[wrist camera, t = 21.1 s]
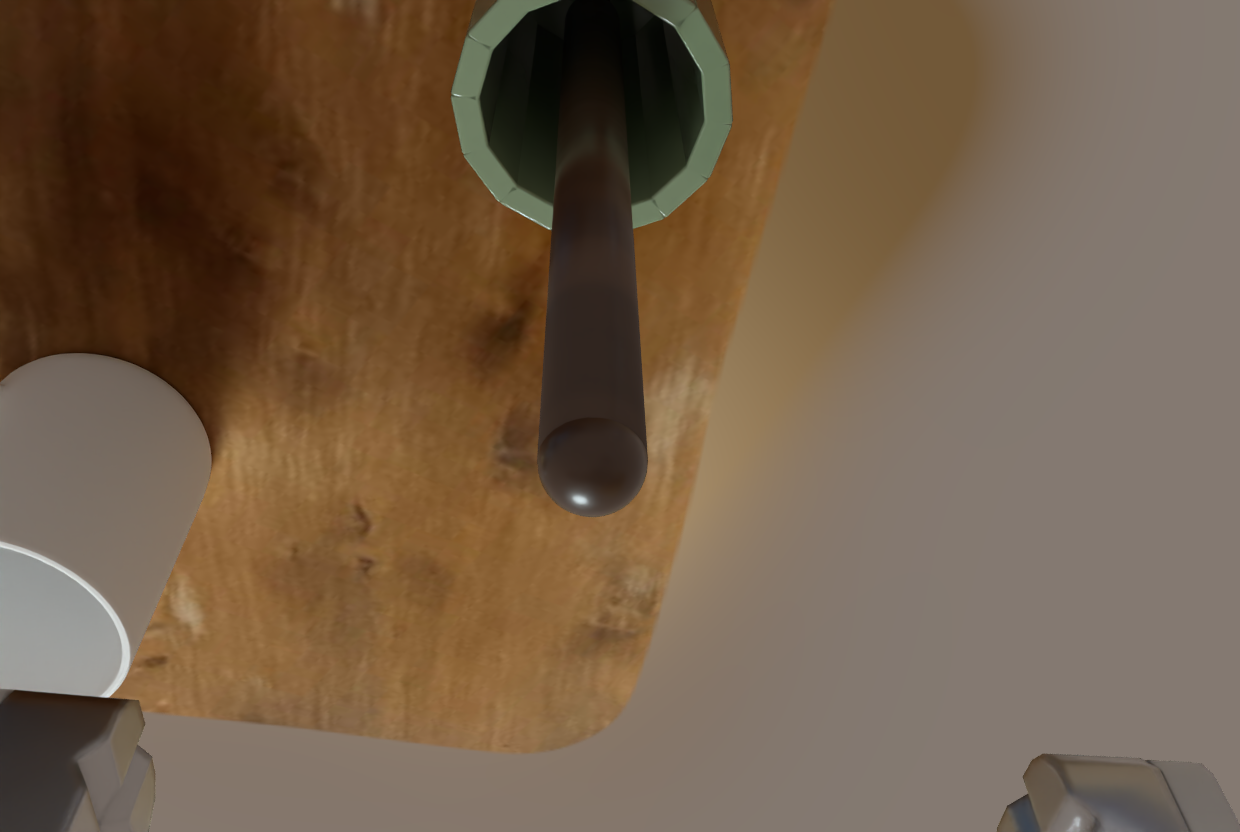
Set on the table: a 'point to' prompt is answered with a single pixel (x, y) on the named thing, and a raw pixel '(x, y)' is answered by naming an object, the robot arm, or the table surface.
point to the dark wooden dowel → (592, 285)
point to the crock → (653, 89)
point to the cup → (89, 516)
